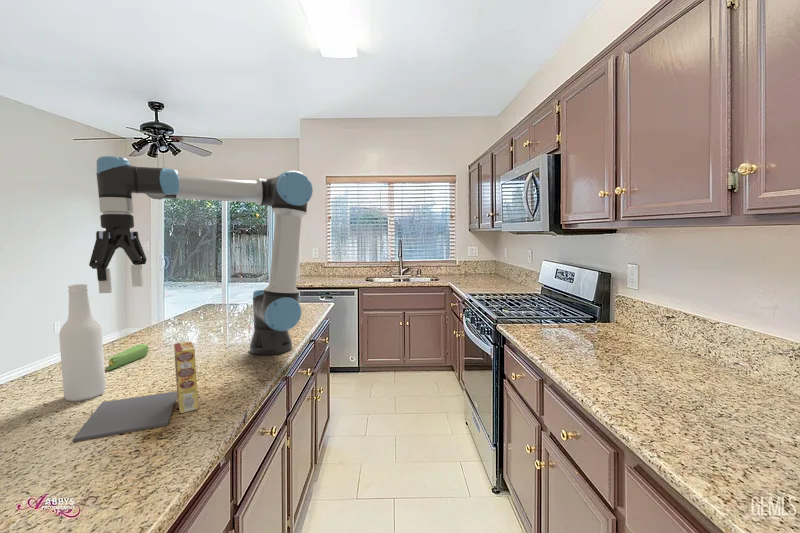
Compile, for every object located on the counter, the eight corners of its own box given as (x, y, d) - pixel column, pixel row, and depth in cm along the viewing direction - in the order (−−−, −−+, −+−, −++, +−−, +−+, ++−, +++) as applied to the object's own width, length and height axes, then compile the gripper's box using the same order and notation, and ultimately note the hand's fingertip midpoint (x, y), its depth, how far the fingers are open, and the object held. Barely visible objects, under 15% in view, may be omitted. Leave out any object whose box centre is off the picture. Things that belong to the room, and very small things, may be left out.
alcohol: (71, 404, 98) (63, 287, 96) (58, 397, 103) (50, 285, 101) (111, 393, 106) (104, 284, 104) (97, 386, 111) (90, 282, 108)
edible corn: (154, 343, 141) (142, 339, 142) (109, 362, 122) (96, 358, 122) (151, 356, 142) (139, 352, 142) (106, 377, 122) (93, 373, 122)
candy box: (198, 409, 95) (195, 348, 94) (179, 414, 93) (175, 351, 91) (194, 397, 102) (192, 340, 101) (176, 401, 100) (173, 343, 99)
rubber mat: (178, 393, 105) (178, 390, 105) (167, 425, 87) (167, 422, 87) (102, 404, 99) (102, 401, 99) (72, 441, 80) (72, 439, 80)
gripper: (131, 216, 120) (136, 284, 122) (66, 211, 95) (74, 296, 97) (156, 216, 121) (161, 283, 122) (98, 210, 96) (105, 295, 97)
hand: (122, 289), depth 110 cm, fingers open, 13 cm apart
